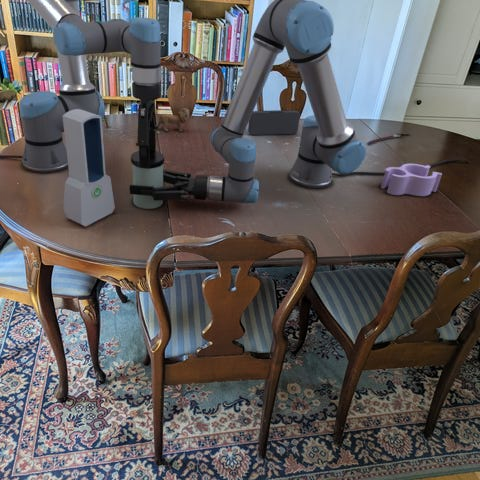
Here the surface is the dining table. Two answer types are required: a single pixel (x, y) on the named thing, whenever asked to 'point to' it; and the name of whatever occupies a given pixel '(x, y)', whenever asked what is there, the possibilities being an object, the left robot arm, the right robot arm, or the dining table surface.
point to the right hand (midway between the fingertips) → (132, 182)
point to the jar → (147, 179)
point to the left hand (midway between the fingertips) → (148, 158)
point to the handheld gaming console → (273, 122)
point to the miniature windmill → (92, 78)
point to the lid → (155, 159)
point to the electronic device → (86, 169)
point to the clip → (410, 180)
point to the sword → (386, 138)
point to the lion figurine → (174, 119)
